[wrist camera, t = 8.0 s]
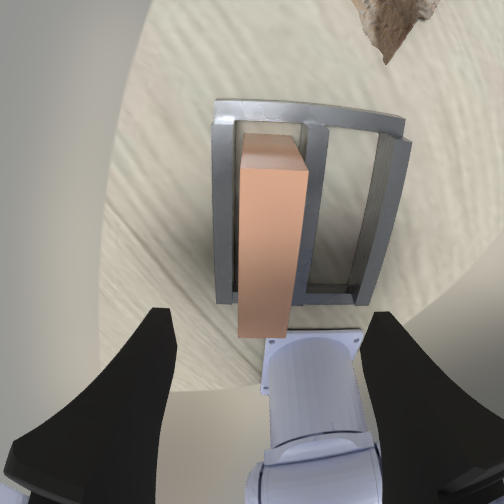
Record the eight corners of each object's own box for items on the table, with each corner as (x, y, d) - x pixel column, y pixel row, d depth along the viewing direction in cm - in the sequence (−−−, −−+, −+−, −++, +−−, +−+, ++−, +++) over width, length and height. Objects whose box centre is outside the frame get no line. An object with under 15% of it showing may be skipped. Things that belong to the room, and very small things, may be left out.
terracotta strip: (278, 269, 21) (285, 338, 16) (241, 268, 21) (237, 337, 16) (290, 135, 16) (308, 171, 11) (244, 133, 16) (240, 168, 11)
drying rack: (357, 295, 22) (364, 316, 21) (219, 292, 22) (217, 315, 20) (398, 115, 15) (415, 123, 13) (216, 98, 15) (211, 103, 13)
